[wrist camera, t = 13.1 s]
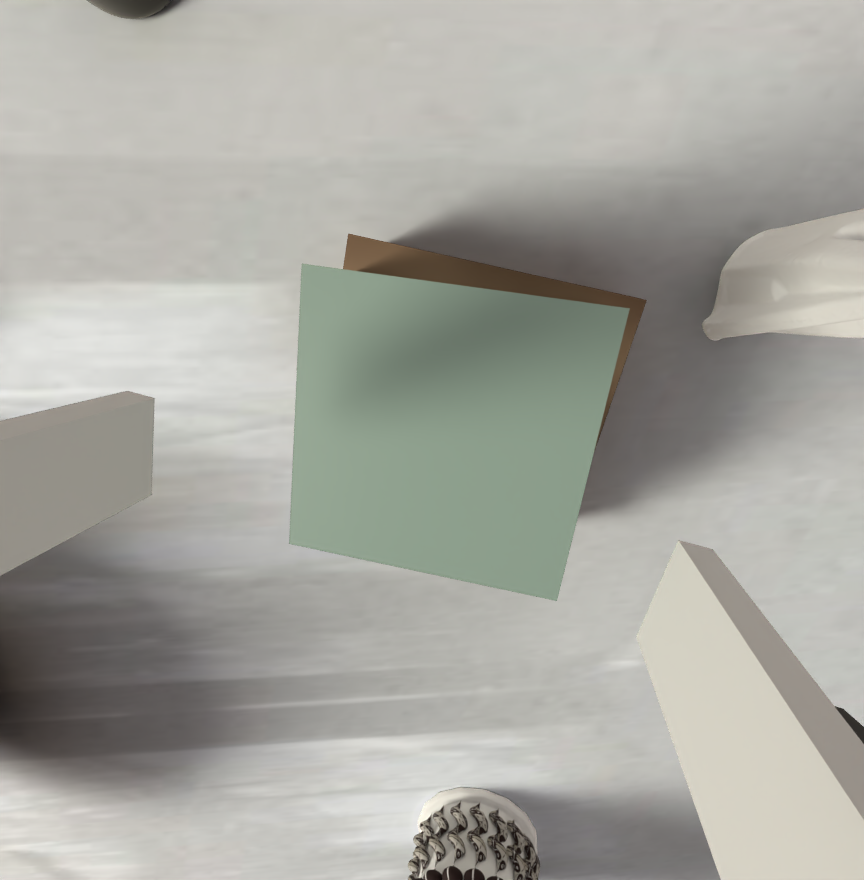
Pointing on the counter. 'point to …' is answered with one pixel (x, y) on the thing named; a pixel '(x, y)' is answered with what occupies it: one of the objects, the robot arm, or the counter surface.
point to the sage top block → (446, 424)
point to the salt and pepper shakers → (795, 282)
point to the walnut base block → (487, 283)
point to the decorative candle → (474, 839)
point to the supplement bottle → (130, 7)
